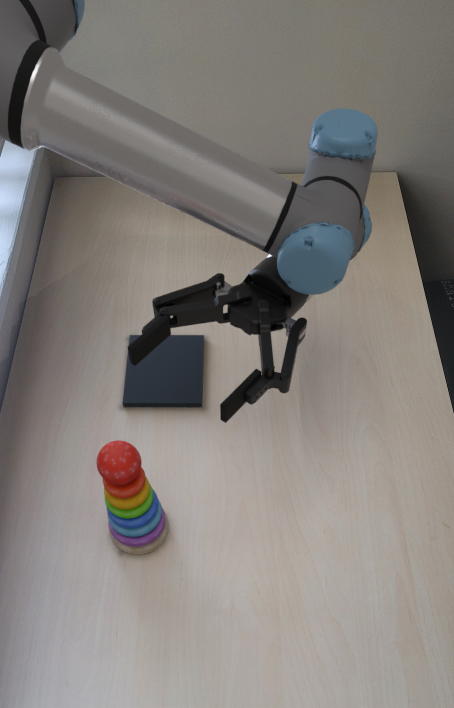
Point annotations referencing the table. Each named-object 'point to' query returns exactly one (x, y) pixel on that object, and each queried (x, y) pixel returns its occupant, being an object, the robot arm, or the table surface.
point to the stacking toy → (130, 500)
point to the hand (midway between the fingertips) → (175, 384)
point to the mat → (167, 374)
